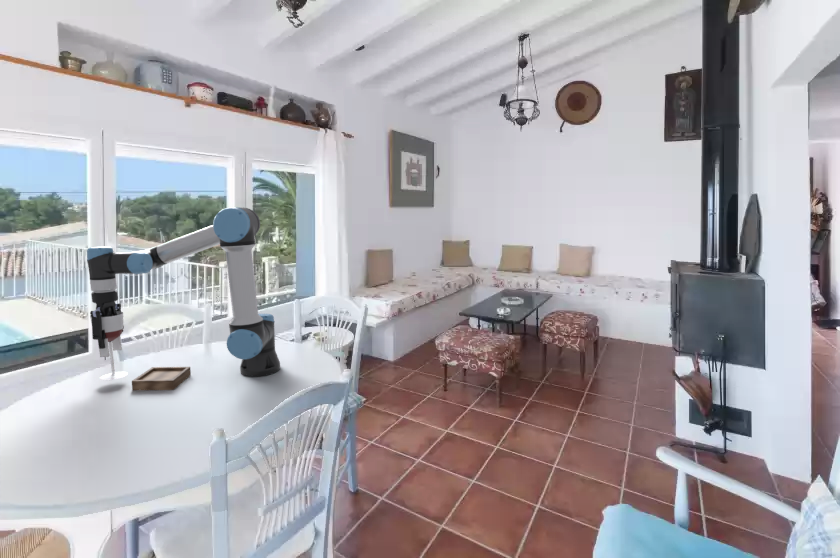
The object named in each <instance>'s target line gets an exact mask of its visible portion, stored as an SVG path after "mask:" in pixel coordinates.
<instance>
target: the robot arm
mask: <svg viewBox="0 0 840 558" xmlns="http://www.w3.org/2000/svg"><path fill="white" fill-rule="evenodd" d="M260 228H261V220H260V218H259V216H258V214H257V213H256V212H255V211H254V210H253V209H251V208H248V207H238V206H236V207H235V206H232V207H231V206H230V207H226V208H223V209H221V210H219V212H217V213H216V215H215V216H214V218H213V220H212V225H209V226H207V227H203V228H202V229H198V230H196V231H194V232H190V233H188V234H185V235H181V236H180V237H176V238H174V239H171V240H169V241H167V242H164V243H162V244H158V245H155V246H153V247H150V248H147V249H144V250H136V251H130V252H115V251H114V250H113V249H114V248H113V247H112V246H94V247H93V246H92V247H89V248H87V249H86V257H87V258H86V263H87V266H88V267H87V269H88V273H89V274H88V275H89V284H90V291H91V294H90V295H91V302H92V303H94V304H95V305H96V306H95V310H91V311H90V312H89V314H90V315H91V317H92V323H91V331H92V339H93V340H95V341H96V340H97V345H98V351H99V358H110V351H109V342H108V339H105V338H106V334H105V330H102V321H101V317H110V316H116V315H117V313H116V311H120V312H122V311H121V309H122V303H116V302H117V301H118V300H119V295H118V294H119V293H118V291H117V288H118V285H117V284H118V283H117V277H116V276H117V275H119V274H120V275H124V274H127V275H141V274H148V273H150V272H151V270H155V269H159V268H161V267H163V266H165V265H167V264H170V263H173V262H175V261H178V260H180V259H184V258H186V257H190V256H191V255H194V254H197V253H200V252H203V251H205V250H208V249H211V248H213V247H215V246H219V247H220V248H221V249H222V250H223V251H224V252H225V260H226V267H227V277H228V284H229V285H228V287H229V293H230V303H231V313H232V317H231V319H230V320H229V322H228V328H229V335H228V336H227V339H226V348H227V351H228V352H229V353H230V354H231V356H233V357H234V358H236V359H240V360H241V363H240V366H239V369H240V371H239V372H240V373H241V375H243V376H246V377H265V376H268V375H269V376H270V375H272V374H276V373H277V372H279V371H280V370H281V362H280V360H279V357H278V354H277V351H276V341H275V340H276V337H275V336H276V335H275V332H276V331H275V317H274V314H271V313H259V310H258V301H257V300H258V299H257V291H256V282H255V281H256V280H255V271H254V261H253V251H252V250H253V248H254V247H255V246H256V235H257V234H258V233H259V231H260ZM124 327H125V324H123V331H122V333H124ZM121 337H122V336H121V335H120V336H119V337H118V338H116V339H114V340H113V341H112V351H113V352H114V351H117V352H118V351H122V350H123V349H122V338H121Z"/></svg>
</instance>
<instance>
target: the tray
mask: <svg viewBox="0 0 840 558" xmlns="http://www.w3.org/2000/svg"><path fill="white" fill-rule="evenodd" d="M191 373H192V371H191V366H152V367H150V368H149V369H147V370H146V371H144V372H142V374H140V375H138V376H137V377H136V378H134V379H133V380H131V388H132V389H131V391H174V390H176V389H177V388H178V387H179V386H180V385H181V384H183V383H184V382H185V381H187V379H189V378H190V377H191V376H192V374H191Z"/></svg>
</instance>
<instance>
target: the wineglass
mask: <svg viewBox="0 0 840 558" xmlns="http://www.w3.org/2000/svg"><path fill="white" fill-rule="evenodd" d="M116 313H117V315H116V316H110V317H101V321H102V330H105V334H106V338H105V339H108V347H109V359H110V369H111V372H109V373H106V374H103V375H101V376H99V378H98V379H99V380H100V381H112V380H118V379H122V378H124V377H126V376H128V374H129V373H128V372H127V371H115V370H116V369H115V362H114V361H115V360H114V351H113V347H112V341H113V340H114V339H116V338H118V337H119V336H120V337H121V335H122V334H123V332H124V329H123V325H124V312H123V311H121V312H120V311H116ZM89 317H90V322H91V324H92V317H91V314H90V315H89ZM122 331H123V332H122Z"/></svg>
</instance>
